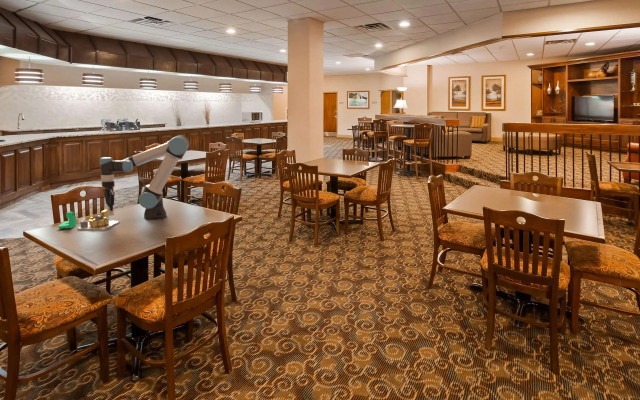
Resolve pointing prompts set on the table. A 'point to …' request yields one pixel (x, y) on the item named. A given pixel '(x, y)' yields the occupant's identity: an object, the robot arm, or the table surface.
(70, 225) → the camera mount
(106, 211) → the gold lumpy cluster
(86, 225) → the housing
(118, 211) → the table surface
